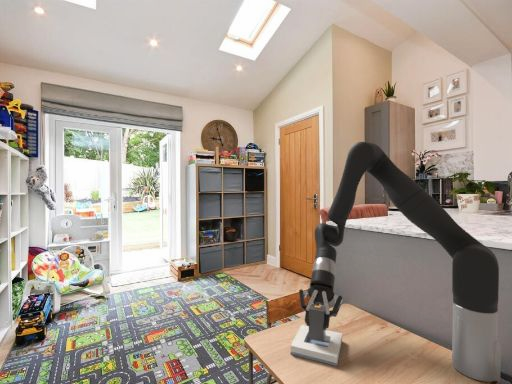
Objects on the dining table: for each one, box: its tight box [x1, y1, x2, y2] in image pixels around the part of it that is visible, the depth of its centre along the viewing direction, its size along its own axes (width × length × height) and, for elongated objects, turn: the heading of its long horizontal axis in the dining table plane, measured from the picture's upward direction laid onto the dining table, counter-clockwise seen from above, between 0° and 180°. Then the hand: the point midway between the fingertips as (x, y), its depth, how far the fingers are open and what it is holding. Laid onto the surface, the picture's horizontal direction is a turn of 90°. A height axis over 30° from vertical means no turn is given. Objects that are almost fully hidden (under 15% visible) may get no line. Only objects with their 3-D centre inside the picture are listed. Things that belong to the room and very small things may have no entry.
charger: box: [309, 304, 327, 342], centre depth 81 cm, size 4×4×9 cm
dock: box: [290, 324, 343, 367], centre depth 81 cm, size 13×13×2 cm
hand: (316, 326), depth 79 cm, fingers closed on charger, 4 cm apart
